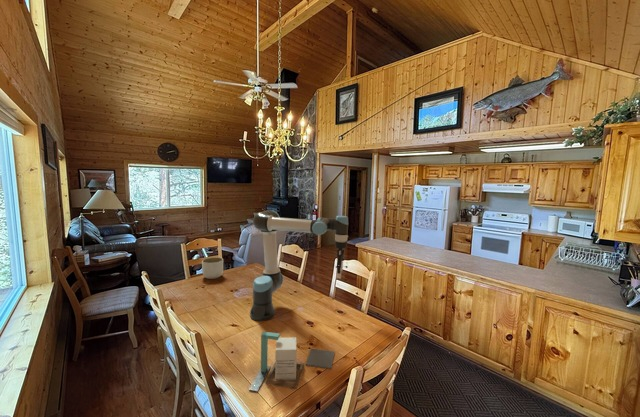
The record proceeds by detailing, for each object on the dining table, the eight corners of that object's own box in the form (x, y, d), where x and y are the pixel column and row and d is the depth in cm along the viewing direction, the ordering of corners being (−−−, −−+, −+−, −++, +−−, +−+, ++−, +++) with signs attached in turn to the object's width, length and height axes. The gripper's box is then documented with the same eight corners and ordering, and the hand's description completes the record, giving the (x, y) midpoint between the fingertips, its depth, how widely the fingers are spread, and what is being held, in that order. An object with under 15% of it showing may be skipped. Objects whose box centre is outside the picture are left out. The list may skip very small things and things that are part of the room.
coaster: (305, 365, 123) (305, 364, 123) (310, 349, 134) (310, 348, 134) (331, 369, 121) (331, 367, 120) (334, 352, 132) (334, 351, 132)
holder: (266, 383, 111) (266, 379, 110) (276, 363, 123) (276, 359, 123) (296, 388, 108) (296, 384, 108) (303, 367, 121) (303, 363, 121)
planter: (197, 279, 221) (197, 262, 220) (209, 273, 238) (209, 256, 237) (216, 281, 219) (216, 263, 217) (227, 274, 235) (227, 257, 234)
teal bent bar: (260, 371, 117) (261, 334, 115) (263, 367, 119) (263, 331, 117) (277, 374, 115) (277, 336, 114) (279, 370, 118) (279, 333, 116)
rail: (248, 390, 107) (248, 389, 107) (262, 366, 121) (262, 365, 121) (257, 392, 106) (257, 391, 106) (270, 367, 120) (270, 366, 120)
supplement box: (276, 368, 120) (276, 337, 119) (296, 367, 121) (296, 336, 119) (274, 383, 111) (274, 349, 110) (295, 382, 112) (296, 349, 110)
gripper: (346, 246, 151) (344, 282, 153) (348, 237, 175) (346, 268, 177) (332, 245, 152) (331, 280, 154) (336, 236, 176) (335, 267, 178)
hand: (339, 274), depth 166 cm, fingers open, 13 cm apart
